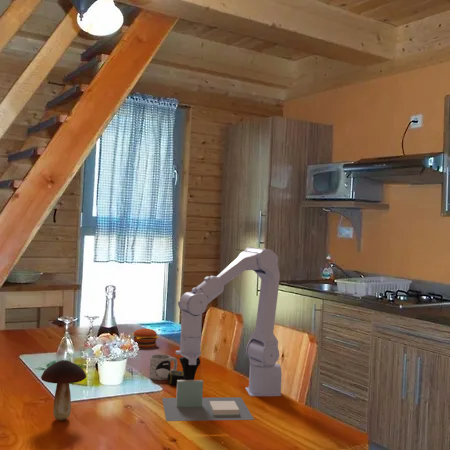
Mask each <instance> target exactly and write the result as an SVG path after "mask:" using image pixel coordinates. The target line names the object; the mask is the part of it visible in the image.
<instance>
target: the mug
mask: <svg viewBox="0 0 450 450" xmlns="http://www.w3.org/2000/svg"><path fill="white" fill-rule="evenodd" d="M149 358H150V359H149V379H151V380H154V381H166V380H167V381H168V374H169V372H171V371H177V368H178V359H177V357H174V356H171V355H170V354H169V355H168V354H163V353H157V354H156V353H155V354H152V355H150V357H149ZM172 361H173V362H174V363H173V368H172V369H171V367H172V365H171V364H172Z"/></svg>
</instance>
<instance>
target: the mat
mask: <svg viewBox="0 0 450 450" xmlns="http://www.w3.org/2000/svg"><path fill="white" fill-rule="evenodd" d="M161 399H162V406H163V410H164V417H165V421H166V422H189V421H191V422H193V421H194V422H198V421H199V422H200V421H206V422H207V421H254V420H255V418H254V416H253V415H252V414H251V412H250V410H249V408H248V406H247V405H246V404H245V401H244V400H243V398H242V397H241V396H240V397H239V396H238V397H237V396H236V397H234V396H232V397H227V396H226V397H220V396H219V397H217V396H216V397H202V407H176V397H162V398H161ZM209 401H235V403H236V405H237V406H238V408H239V416H213V415H212V413H211V410H210V408H209Z"/></svg>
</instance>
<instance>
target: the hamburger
mask: <svg viewBox="0 0 450 450" xmlns="http://www.w3.org/2000/svg"><path fill="white" fill-rule="evenodd" d="M131 336H133V342H134V341H135V342H137V343H138V346H139V347H143V348H142V349H151V348H155V347H156V346H157V339H160V337H159V336H158V335H157V332H156V330H155V329H151V328H146V327H145V328H140V329H136V330H135V331H134V332H133V333H132V334H131ZM139 347H138V348H139ZM150 347H151V348H150Z"/></svg>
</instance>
